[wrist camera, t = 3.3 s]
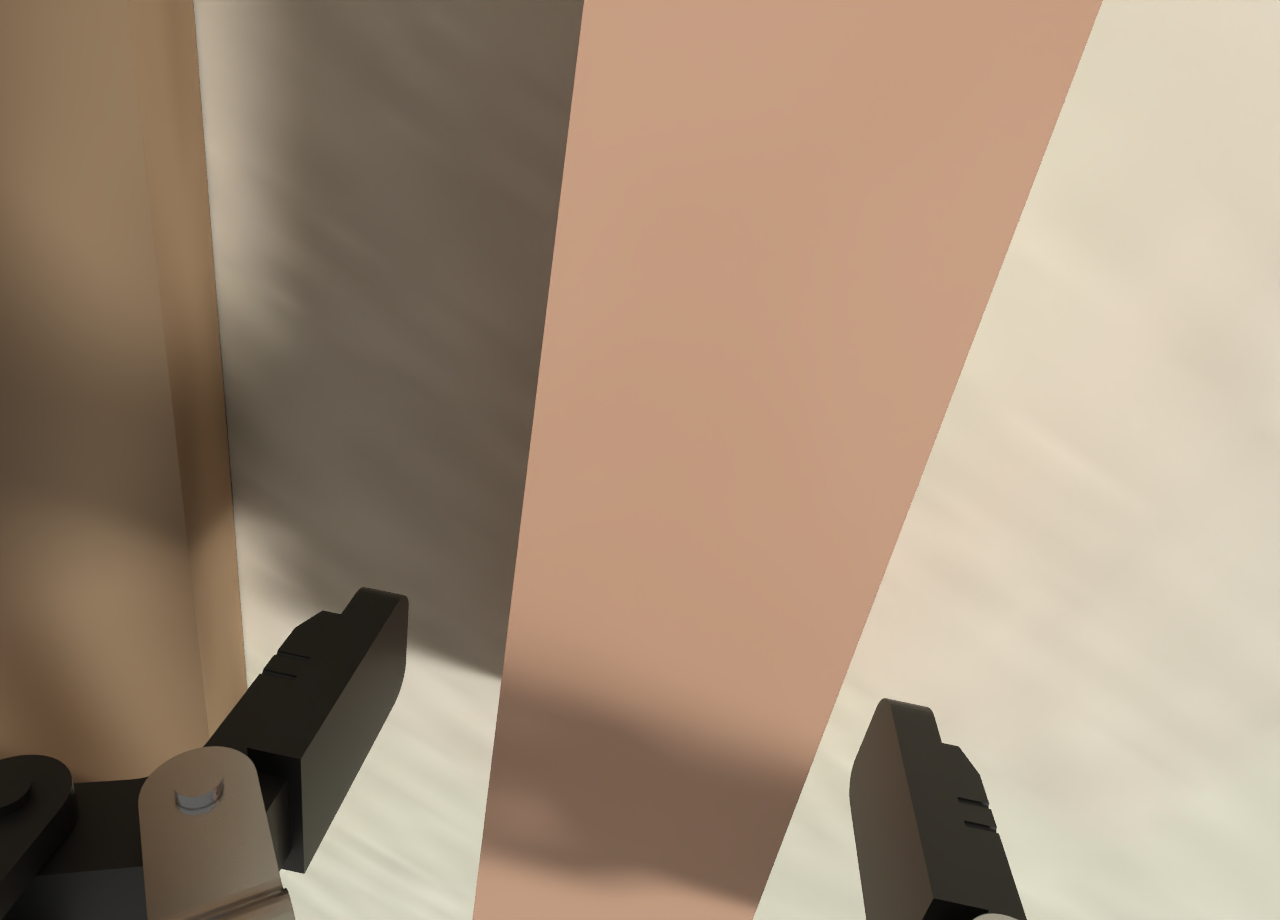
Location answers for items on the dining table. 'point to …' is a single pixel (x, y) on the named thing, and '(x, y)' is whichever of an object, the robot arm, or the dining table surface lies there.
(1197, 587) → the dining table surface
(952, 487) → the dining table surface
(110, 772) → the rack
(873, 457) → the salmon pink rectangular block
